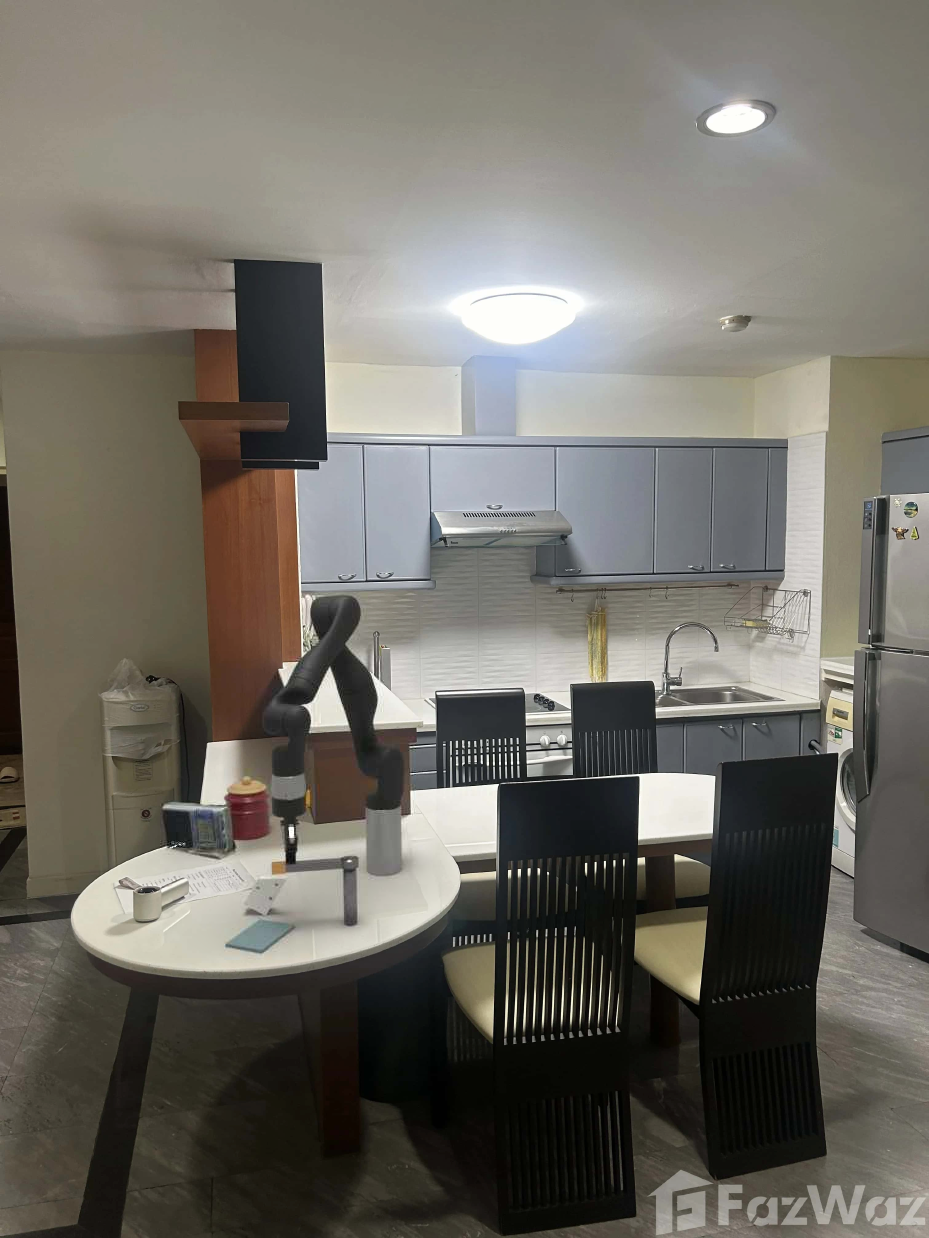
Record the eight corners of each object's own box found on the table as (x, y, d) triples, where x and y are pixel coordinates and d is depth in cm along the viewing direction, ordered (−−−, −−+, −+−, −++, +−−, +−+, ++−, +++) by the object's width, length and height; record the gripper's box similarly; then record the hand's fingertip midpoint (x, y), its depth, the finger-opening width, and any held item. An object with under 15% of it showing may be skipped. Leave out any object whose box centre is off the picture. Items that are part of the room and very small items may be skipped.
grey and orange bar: (358, 863, 199) (357, 854, 199) (359, 869, 195) (359, 860, 195) (272, 869, 196) (272, 860, 196) (271, 875, 192) (271, 867, 192)
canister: (277, 829, 264) (275, 771, 263) (260, 843, 252) (258, 783, 250) (236, 827, 267) (235, 769, 265) (217, 841, 254) (215, 781, 252)
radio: (158, 849, 248) (156, 798, 246) (182, 840, 255) (181, 791, 254) (214, 864, 236) (213, 811, 234) (238, 855, 243) (237, 803, 242)
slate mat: (260, 922, 199) (260, 919, 199) (294, 928, 196) (294, 924, 196) (225, 947, 187) (225, 943, 187) (261, 953, 184) (261, 950, 183)
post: (347, 919, 200) (346, 864, 199) (359, 921, 199) (358, 866, 198) (341, 924, 197) (340, 869, 196) (353, 926, 196) (352, 870, 195)
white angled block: (287, 915, 203) (286, 878, 202) (244, 916, 202) (242, 879, 201) (290, 908, 206) (289, 872, 205) (247, 909, 206) (246, 873, 205)
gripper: (269, 785, 201) (272, 858, 203) (273, 803, 188) (275, 881, 190) (303, 782, 203) (305, 855, 205) (308, 800, 190) (310, 877, 192)
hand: (290, 867), depth 198 cm, fingers closed
